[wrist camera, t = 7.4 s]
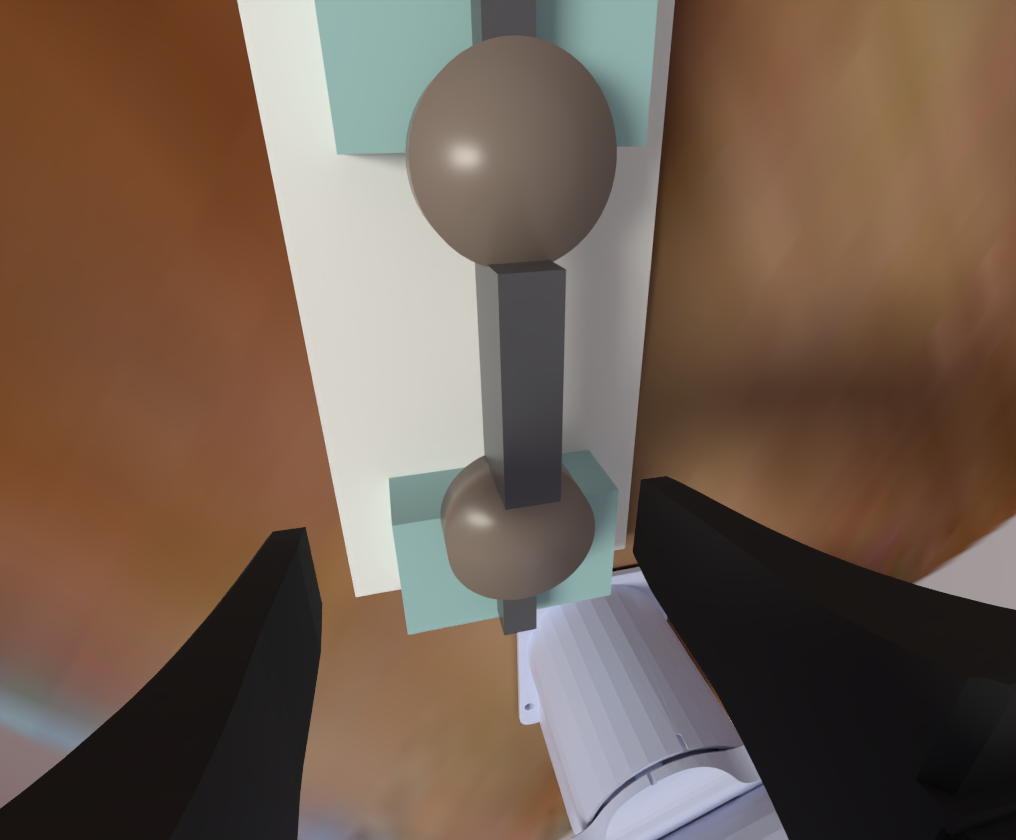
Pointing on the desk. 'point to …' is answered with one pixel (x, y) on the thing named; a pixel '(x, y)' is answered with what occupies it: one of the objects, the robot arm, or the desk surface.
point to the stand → (446, 276)
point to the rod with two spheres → (514, 287)
